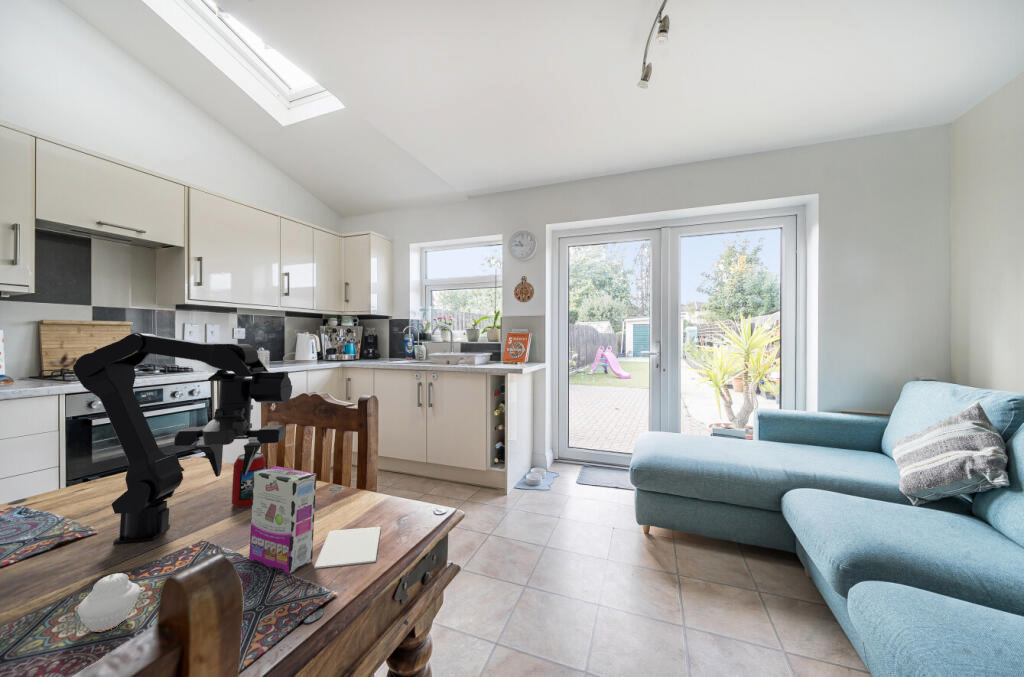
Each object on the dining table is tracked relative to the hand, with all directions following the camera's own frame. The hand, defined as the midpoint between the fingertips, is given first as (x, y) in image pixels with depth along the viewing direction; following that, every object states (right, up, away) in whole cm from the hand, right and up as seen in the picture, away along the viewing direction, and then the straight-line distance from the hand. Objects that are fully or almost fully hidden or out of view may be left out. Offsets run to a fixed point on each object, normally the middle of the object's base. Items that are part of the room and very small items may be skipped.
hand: (231, 475), depth 81 cm
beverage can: (-7, -13, +15) cm, 20 cm away
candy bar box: (+17, -13, -10) cm, 23 cm away
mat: (+27, -13, -4) cm, 30 cm away
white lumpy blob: (+3, -12, -27) cm, 30 cm away
